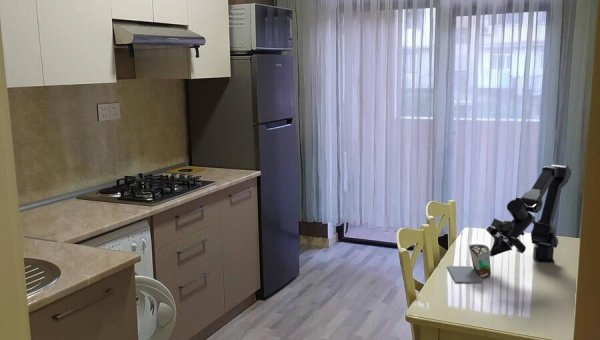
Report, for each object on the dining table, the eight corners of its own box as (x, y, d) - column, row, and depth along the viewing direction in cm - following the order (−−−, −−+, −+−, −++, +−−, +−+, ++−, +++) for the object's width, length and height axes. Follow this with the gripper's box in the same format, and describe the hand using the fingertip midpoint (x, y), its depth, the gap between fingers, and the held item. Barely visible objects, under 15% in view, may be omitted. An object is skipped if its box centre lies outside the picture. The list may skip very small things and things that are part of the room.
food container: (499, 277, 207) (494, 251, 206) (482, 280, 208) (477, 255, 206) (488, 265, 220) (484, 241, 218) (472, 268, 220) (468, 244, 218)
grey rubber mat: (471, 267, 221) (471, 266, 221) (482, 283, 205) (482, 281, 205) (447, 267, 221) (447, 266, 221) (455, 283, 206) (455, 281, 206)
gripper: (492, 205, 220) (464, 234, 219) (520, 217, 202) (490, 249, 201) (509, 223, 223) (482, 252, 222) (538, 237, 205) (509, 269, 205)
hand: (490, 255), depth 213 cm, fingers closed
